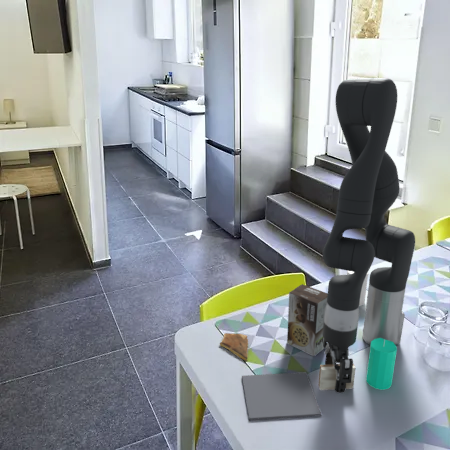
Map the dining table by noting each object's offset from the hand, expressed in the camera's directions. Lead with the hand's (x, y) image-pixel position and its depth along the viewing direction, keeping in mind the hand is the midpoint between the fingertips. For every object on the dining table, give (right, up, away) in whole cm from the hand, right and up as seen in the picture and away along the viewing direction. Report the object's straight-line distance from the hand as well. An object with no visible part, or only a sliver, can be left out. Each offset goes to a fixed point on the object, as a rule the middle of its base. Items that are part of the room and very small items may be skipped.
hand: (334, 379), depth 110 cm
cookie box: (-4, +4, +17) cm, 17 cm away
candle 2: (+11, -2, +3) cm, 12 cm away
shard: (-22, +3, +16) cm, 27 cm away
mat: (-13, -3, -2) cm, 14 cm away
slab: (+1, -2, +1) cm, 2 cm away
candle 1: (+15, +12, +39) cm, 43 cm away
